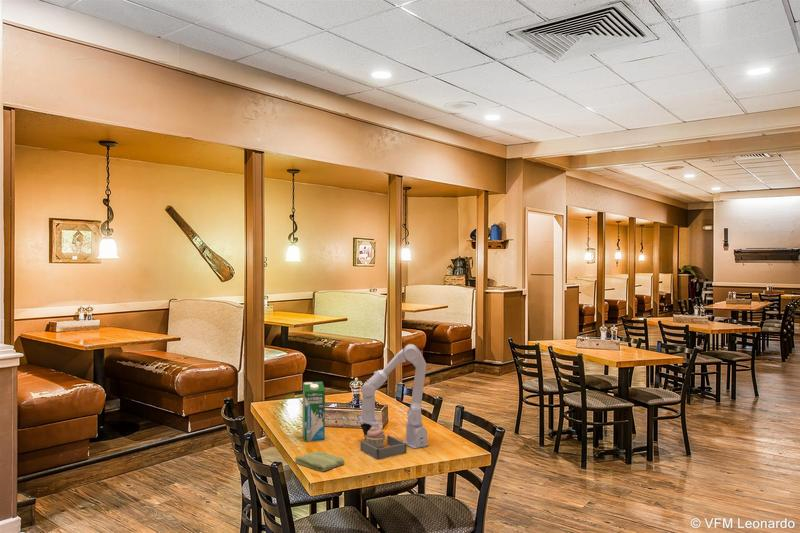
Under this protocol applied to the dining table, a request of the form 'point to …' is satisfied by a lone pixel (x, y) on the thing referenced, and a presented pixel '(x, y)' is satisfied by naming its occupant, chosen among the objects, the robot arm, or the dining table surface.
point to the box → (393, 449)
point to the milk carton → (313, 411)
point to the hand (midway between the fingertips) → (368, 440)
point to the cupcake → (375, 437)
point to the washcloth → (319, 461)
